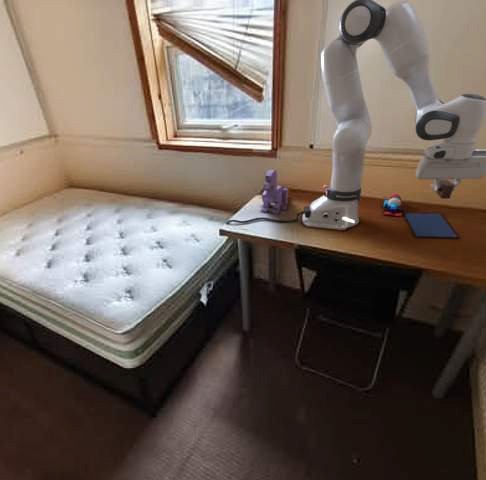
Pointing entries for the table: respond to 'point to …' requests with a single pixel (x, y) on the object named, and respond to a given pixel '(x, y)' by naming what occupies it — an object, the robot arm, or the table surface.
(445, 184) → the letter opener
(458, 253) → the table surface
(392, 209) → the toy figure
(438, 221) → the desk mat
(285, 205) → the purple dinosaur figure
